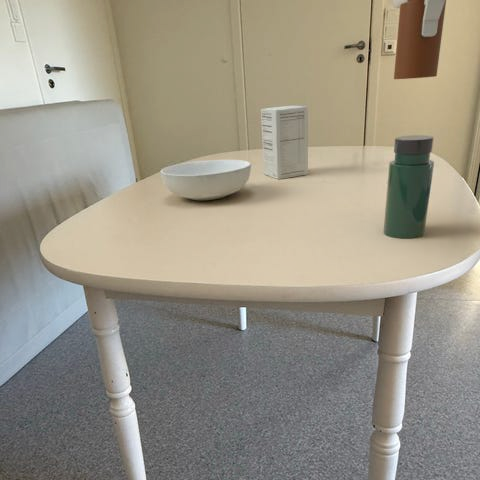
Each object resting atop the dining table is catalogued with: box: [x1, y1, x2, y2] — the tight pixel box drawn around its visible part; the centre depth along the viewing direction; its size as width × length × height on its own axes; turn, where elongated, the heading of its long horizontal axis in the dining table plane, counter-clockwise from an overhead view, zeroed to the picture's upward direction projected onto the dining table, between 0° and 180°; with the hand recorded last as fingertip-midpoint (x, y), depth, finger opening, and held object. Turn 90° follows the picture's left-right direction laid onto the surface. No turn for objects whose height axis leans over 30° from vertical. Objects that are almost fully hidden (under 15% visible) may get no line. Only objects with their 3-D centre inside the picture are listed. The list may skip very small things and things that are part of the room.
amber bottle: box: [393, 0, 447, 80], centre depth 61 cm, size 6×6×12 cm
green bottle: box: [382, 134, 435, 239], centre depth 70 cm, size 6×6×14 cm
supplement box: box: [260, 105, 309, 180], centre depth 118 cm, size 10×9×17 cm
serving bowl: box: [160, 159, 252, 202], centre depth 104 cm, size 21×21×7 cm
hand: (419, 39), depth 62 cm, fingers closed on amber bottle, 6 cm apart
